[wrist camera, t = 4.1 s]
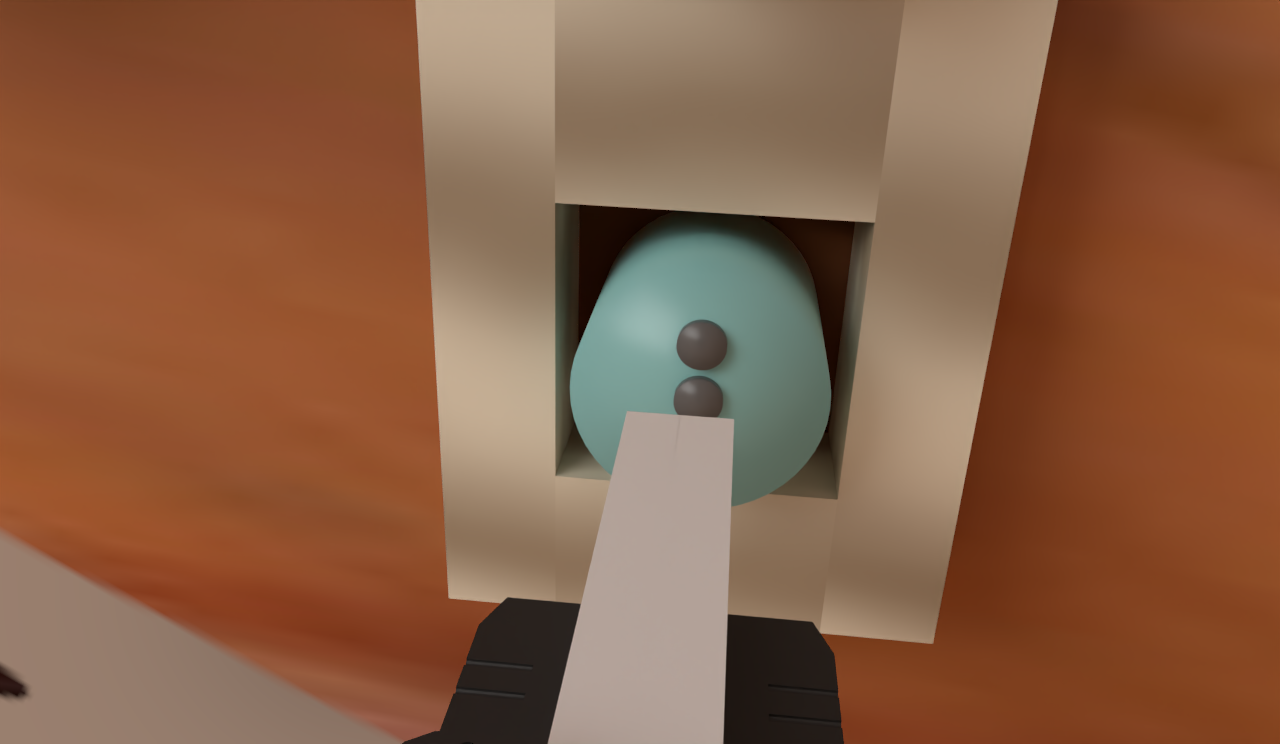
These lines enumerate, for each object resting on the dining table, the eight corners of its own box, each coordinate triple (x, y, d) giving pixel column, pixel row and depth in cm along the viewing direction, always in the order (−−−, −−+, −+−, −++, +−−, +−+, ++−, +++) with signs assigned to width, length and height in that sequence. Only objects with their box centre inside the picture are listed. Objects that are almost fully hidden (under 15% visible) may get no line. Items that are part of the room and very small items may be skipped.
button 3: (604, 198, 22) (568, 269, 18) (828, 212, 21) (846, 287, 17) (601, 398, 24) (567, 504, 20) (805, 414, 23) (816, 525, 19)
